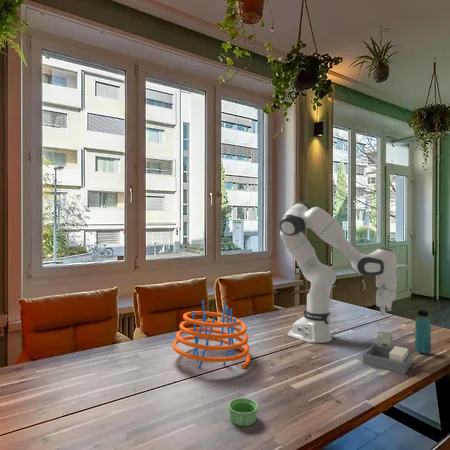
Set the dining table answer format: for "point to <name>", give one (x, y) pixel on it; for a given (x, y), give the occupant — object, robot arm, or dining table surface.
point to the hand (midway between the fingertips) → (386, 312)
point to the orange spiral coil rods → (213, 336)
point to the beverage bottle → (422, 333)
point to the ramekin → (243, 411)
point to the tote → (385, 360)
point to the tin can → (385, 339)
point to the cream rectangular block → (398, 354)
